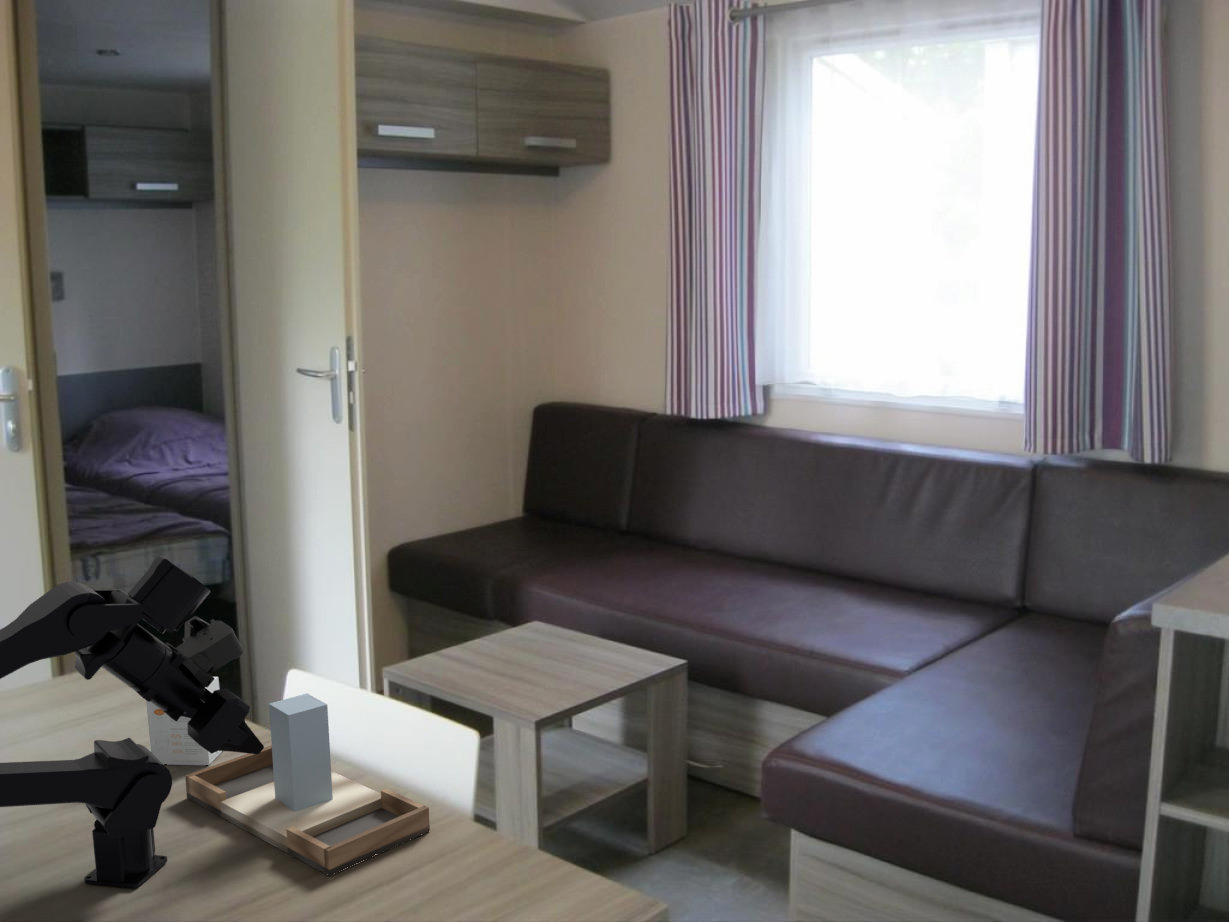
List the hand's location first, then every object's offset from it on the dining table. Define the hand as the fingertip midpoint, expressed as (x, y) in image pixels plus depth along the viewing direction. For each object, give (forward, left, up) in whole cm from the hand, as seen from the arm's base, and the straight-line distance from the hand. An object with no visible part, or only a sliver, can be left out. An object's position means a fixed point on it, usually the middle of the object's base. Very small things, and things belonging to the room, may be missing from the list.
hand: (244, 736), depth 151 cm
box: (+5, -4, -12) cm, 14 cm away
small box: (+18, +19, -12) cm, 29 cm away
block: (+5, -4, -10) cm, 12 cm away
